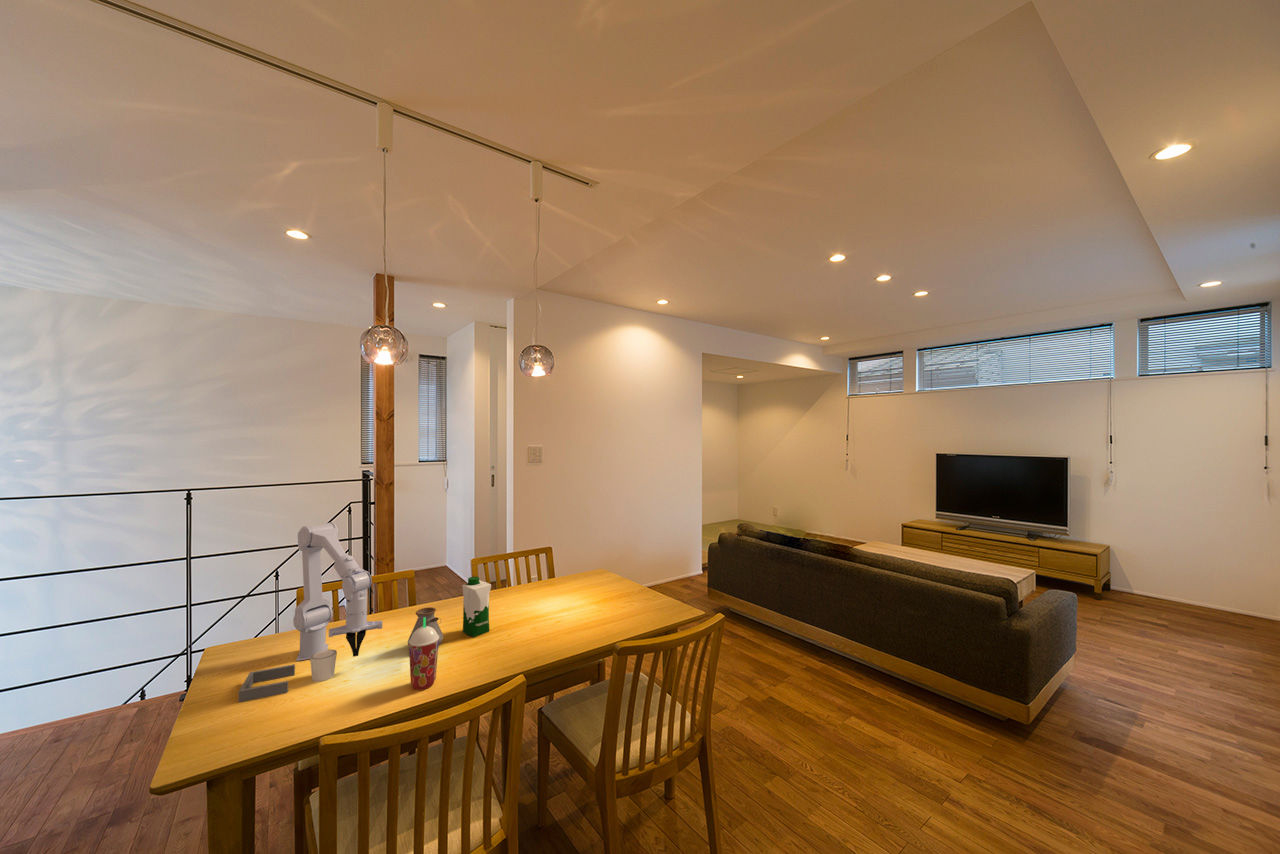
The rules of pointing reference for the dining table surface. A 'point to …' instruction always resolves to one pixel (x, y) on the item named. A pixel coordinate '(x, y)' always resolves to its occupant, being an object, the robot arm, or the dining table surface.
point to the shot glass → (323, 664)
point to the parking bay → (265, 690)
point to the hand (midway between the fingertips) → (355, 654)
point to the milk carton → (476, 607)
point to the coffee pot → (427, 621)
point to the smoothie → (423, 656)
